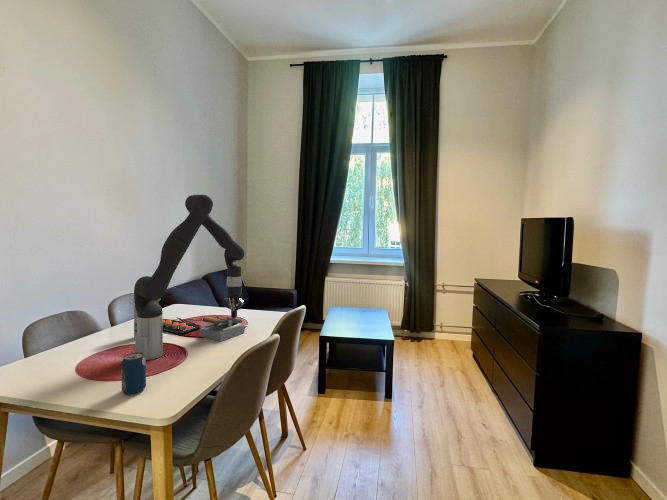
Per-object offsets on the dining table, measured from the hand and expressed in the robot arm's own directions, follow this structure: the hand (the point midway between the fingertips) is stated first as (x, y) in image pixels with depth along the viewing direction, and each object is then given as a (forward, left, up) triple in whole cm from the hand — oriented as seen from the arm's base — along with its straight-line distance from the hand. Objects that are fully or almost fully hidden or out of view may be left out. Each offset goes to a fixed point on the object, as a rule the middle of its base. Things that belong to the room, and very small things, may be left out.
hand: (234, 317), depth 178 cm
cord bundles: (-7, 0, -3) cm, 8 cm away
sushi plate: (-6, +31, -8) cm, 33 cm away
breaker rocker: (-8, 0, 0) cm, 8 cm away
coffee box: (-30, +28, -7) cm, 41 cm away
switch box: (-8, 0, -7) cm, 10 cm away
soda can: (-65, -19, -7) cm, 68 cm away
